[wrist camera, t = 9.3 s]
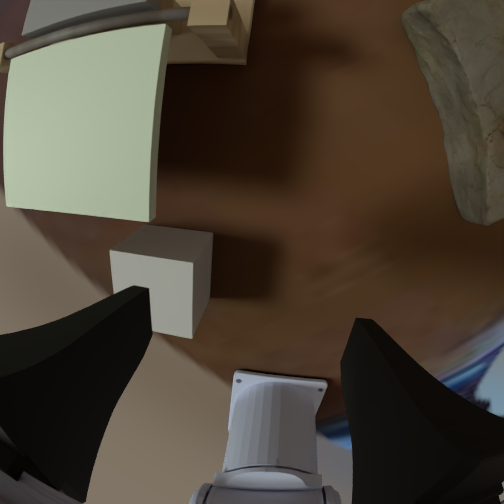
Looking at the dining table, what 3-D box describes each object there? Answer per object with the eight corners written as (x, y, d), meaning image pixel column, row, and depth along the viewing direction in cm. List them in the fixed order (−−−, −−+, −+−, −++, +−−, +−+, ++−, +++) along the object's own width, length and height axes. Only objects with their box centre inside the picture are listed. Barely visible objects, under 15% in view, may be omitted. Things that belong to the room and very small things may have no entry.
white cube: (209, 297, 22) (192, 338, 18) (147, 286, 22) (118, 322, 18) (213, 232, 20) (193, 262, 16) (144, 223, 21) (109, 250, 16)
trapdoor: (158, 215, 14) (146, 224, 13) (18, 201, 14) (3, 207, 13) (186, -30, 9) (177, -43, 8) (34, 9, 10) (20, 4, 8)
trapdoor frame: (246, 65, 16) (225, 29, 9) (51, 78, 17) (-14, 74, 10) (255, -2, 14) (240, -59, 8) (61, 22, 15) (1, 5, 8)
